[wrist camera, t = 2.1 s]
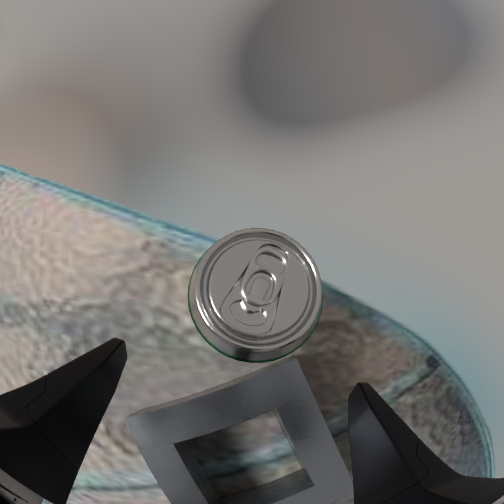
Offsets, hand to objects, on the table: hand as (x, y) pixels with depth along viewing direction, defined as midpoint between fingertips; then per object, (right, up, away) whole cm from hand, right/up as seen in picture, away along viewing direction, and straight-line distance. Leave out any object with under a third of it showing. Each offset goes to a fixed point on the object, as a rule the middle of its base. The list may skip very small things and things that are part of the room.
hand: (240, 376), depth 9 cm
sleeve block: (0, -11, +7) cm, 13 cm away
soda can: (0, -1, +11) cm, 11 cm away
